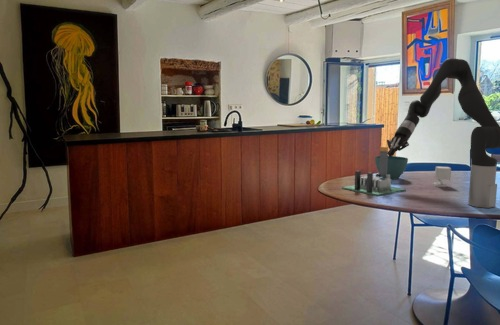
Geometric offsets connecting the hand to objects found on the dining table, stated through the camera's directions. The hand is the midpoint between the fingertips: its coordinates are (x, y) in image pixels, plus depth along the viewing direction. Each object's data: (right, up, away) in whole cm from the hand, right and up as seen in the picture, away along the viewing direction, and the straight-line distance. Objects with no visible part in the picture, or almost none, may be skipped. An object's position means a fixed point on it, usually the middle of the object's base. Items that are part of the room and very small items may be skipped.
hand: (389, 155), depth 203 cm
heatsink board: (-9, -17, -4) cm, 20 cm away
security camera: (+29, -16, +6) cm, 34 cm away
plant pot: (+11, -13, +29) cm, 33 cm away
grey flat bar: (-4, -11, -1) cm, 12 cm away
